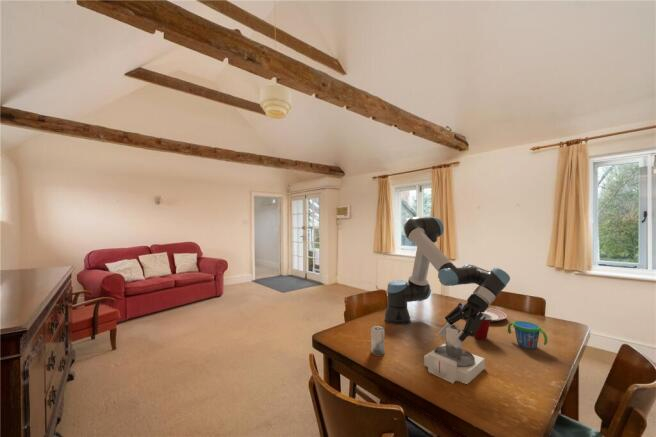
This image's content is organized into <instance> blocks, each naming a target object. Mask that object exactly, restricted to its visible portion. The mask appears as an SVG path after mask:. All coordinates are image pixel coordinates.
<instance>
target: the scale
mask: <svg viewBox="0 0 656 437" xmlns="http://www.w3.org/2000/svg"><path fill="white" fill-rule="evenodd" d="M440 346H446V343H442V344H441V345H439V346H438V347H440ZM435 349H436V348H435ZM435 349H433V350H431V351H430V352H428V353H427V354H425V355H423V360H424V361H423V366H425V367H427V371H428V373H430V374H432V375H434V376H436V377H438V378H440V379H443V380H445V381H447V382H448V383H450V384H455V383H456V382H459V381H460V382H459V383H461V382H462V384H463V383H465V384H467V385H469V383H470V382H471V381H473V380H474V378H476V377H477V376H478V375H479V374H480V373H482V372H483V371H484V369H485V366H486V364H485V358H484V357H482V356H479V355H476V354H473V353H471V354H472V355H473V356H474V358H475V363H474V364H473V365H472V366H468V367H457V362H455V361H453V360H451V359H448V358H446V357H443V356H441V355H438V354H436V353H434V351H435ZM455 381H456V382H455ZM454 382H455V383H454ZM465 384H464V385H465Z"/></svg>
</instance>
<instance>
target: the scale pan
mask: <svg viewBox="0 0 656 437" xmlns="http://www.w3.org/2000/svg"><path fill="white" fill-rule="evenodd" d="M439 346H440V347H439ZM439 346H437V347H436V348H435V351H434V353H436V354H438V355H441V356H443V357H446V358H448V359H451V360H453V361H455V362H457V367H468V366H472V365H473V364H474V363H475V358H474V356H473V355H472V354H473V353H471V352H470V351H468V350H465V349H463V348H462V357H461V358H453V357H450V356H448V355H447V354H446V346H441V345H439Z"/></svg>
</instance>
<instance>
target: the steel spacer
mask: <svg viewBox="0 0 656 437" xmlns="http://www.w3.org/2000/svg"><path fill="white" fill-rule="evenodd" d="M370 340H371V341H370V347H371V348H370V350H371V351H370V352H372V353H373V354H375V355H374V356H376V355H382V356H384V355H385V328H384V327H383V326H380V325H379V326H378V325H374V326H371V327H370ZM372 353H371V354H372ZM373 354H372V355H373ZM383 354H384V355H383Z"/></svg>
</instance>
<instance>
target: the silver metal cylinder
mask: <svg viewBox="0 0 656 437" xmlns="http://www.w3.org/2000/svg"><path fill="white" fill-rule="evenodd" d="M462 330H463V328H462V327H461V326H459V325H456V324H455V325H454V324H452V325H447V326H446V335H445V344H446V354H447V355H448V356H450V357H453V358H461V357H462V349H463V342H461V343H460V345H459V346H458V347H457V348H455V347H454V346H453V345H452V344H451V342H452V341H453V340H454V338H455V337H456V336H457V335H458V334H459V332H460V331H462Z"/></svg>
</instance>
